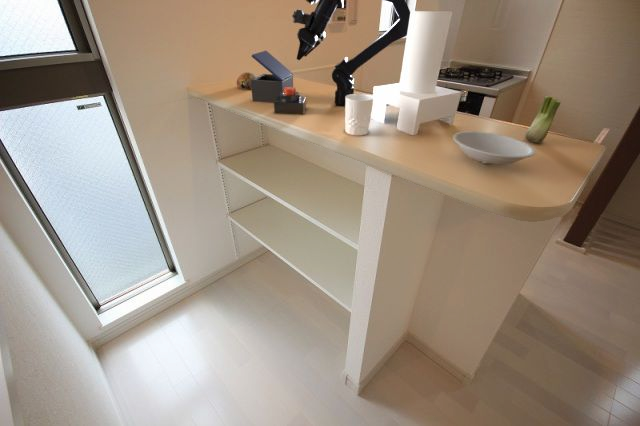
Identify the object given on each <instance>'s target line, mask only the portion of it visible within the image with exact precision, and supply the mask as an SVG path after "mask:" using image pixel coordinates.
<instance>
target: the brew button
mask: <svg viewBox="0 0 640 426" xmlns="http://www.w3.org/2000/svg"><path fill="white" fill-rule="evenodd" d="M296 90H297V89H296V87H295V86H293V87H285V88H284V94H285V95H295V94H296V92H297V91H296Z"/></svg>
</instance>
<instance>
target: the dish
mask: <svg viewBox="0 0 640 426" xmlns="http://www.w3.org/2000/svg"><path fill="white" fill-rule="evenodd" d="M452 139H453V141H454V142H455V144H457V146H458V147H459V148H460V150H461V151H462V152H463V153H464V154H465V155H467V156H468V157H470V158H471V159H473V160H476V161H479V162H481V163H483V164H484V165H485V164H486V165H488V164H491V165H508V164H513V163H516V162H519V161H522V160H525V159H526V158H530V157H533V156H534V155H535V154H536V149H535V148H534V147H533V146H531V145H530V144H528V143H526V142H524V141H522V140H520V139H517V138H513V137H510V136H506V135H503V134H498V133H492V132H486V131H474V130H472V131H471V130H468V131H466V130H465V131H459V132H456V133H454V134H453V135H452Z"/></svg>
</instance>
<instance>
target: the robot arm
mask: <svg viewBox="0 0 640 426" xmlns="http://www.w3.org/2000/svg"><path fill="white" fill-rule="evenodd" d="M305 1H306V3H308V4H309V5H313V4H317V5H316V7H315V9H314V11H311V12H310V13H307V12H304V10H302V9H296V10H295V11H293V13H292V15H291V16H292V23H294V24H300V25H304V26H303V27H300V28H299V29H298V31H297V33H296V36H297V39H298V42H299V46H298V50H297V55H296V60H297V61H300V60H302V59H303V58H304V57H308V55H309V54H311V52H313V51H314V50H315V49H316V48H317V47H319V45H320V44H322V43H323V42H324V40H325V38H326V32H325V30H326V28H327V26H328V25H330V23H331V19H332V17H333V15H334V13H335V11H336V9H337V7H339V8H344V6H345V5H344V0H305ZM383 1H385V2H388V3H391V4H392V6H393V8H394V11H395V13H396V15H397V18H398V19H397V20H396V21H395V22H394V24H393V25H392V26H391V27H390V28H389V29H388V30H387V31H386V32H385V33H383V34H382V35H381V36H379V37H378V38H377V39H376V40H375V41H373V42H372V43H370V44H369V45H367V46H366V48H364V49H363V50H361V51H360V52H359V53H357V54H356V55H355V56H353V57H352V58H350V59H348V57H347V56H345V57H344V58H343V59H342V61H340V62H337V63H336V64H335V65H334V69H333V70H332V72H331V79H332V81H333V82H334V83H335V85H336V89H335V91H334V104H335V106H336V107H345V97H346V96H347V95H350V94H355V93H354V92H355V86H354V83H355V80H356V79H355V78H354V77H353V74H355V72H356V71H357V70H358V69H359V68H361V67H362V66H363V65H365V64H366V63H367V62H368V61H371V59H373V58H374V57H375V56H377V55H378V54H379V53H381V52H382V51H383V50H385V49H386V48H387V47H388V46H390V45H391V44H393V43H394V42H397V41H398V40H402V39H403V38H404V37H405V38H406V37H407V31H408V25H409V19H410V12H411V10H410V8H409V5H408V3H407V2H406V1H407V0H383Z"/></svg>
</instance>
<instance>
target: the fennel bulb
mask: <svg viewBox="0 0 640 426" xmlns="http://www.w3.org/2000/svg"><path fill="white" fill-rule="evenodd" d="M560 105H561V101H559V100H558V99H556V98H553V96H548V95H547V96H545V97H544V99H543V101H542V104H541V106H540V109H539V111H538V113H537V114H536V116H535V117H534V120H533V121H532V123H531V125H530V126H529V128H528V129H527V130H526V131H525V136H524V137H525V140H527V141H528V142H530V143H536V144H540V143H543V141H544V140H545V139H546V138H547V136H548V133H549V130H550V128H551V125H552V123H553V120H554V117H555V116H556V113H557V112H558V111H557V110H558V108H559V107H560Z"/></svg>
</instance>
